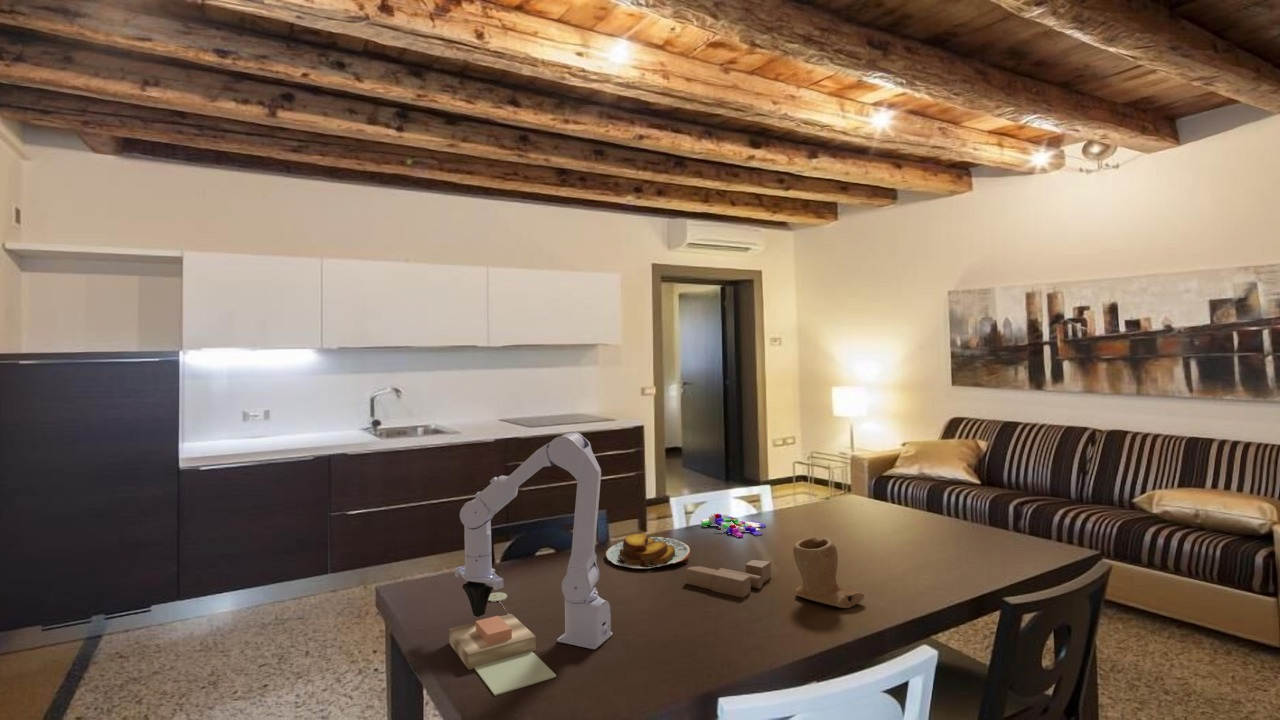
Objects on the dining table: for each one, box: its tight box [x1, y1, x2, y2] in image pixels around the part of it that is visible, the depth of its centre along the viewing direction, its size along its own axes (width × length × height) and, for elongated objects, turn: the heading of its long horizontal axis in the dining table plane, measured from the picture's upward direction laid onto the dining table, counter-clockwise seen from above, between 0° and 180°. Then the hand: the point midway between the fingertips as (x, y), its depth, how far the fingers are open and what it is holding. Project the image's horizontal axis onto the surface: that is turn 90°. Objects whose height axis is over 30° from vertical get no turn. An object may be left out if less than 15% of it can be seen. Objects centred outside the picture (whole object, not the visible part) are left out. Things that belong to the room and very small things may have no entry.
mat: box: [473, 651, 557, 697], centre depth 121 cm, size 12×12×1 cm
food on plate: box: [605, 533, 691, 569], centre depth 189 cm, size 25×25×7 cm
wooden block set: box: [685, 559, 772, 598], centre depth 168 cm, size 17×6×18 cm
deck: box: [448, 613, 537, 671], centre depth 132 cm, size 14×14×3 cm
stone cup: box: [793, 537, 865, 609], centre depth 153 cm, size 15×12×15 cm
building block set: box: [699, 513, 767, 538], centre depth 221 cm, size 25×20×4 cm
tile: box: [475, 615, 512, 645], centre depth 131 cm, size 8×5×2 cm, turn 32°
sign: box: [488, 591, 510, 615], centre depth 154 cm, size 5×1×15 cm
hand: (479, 614), depth 138 cm, fingers closed
